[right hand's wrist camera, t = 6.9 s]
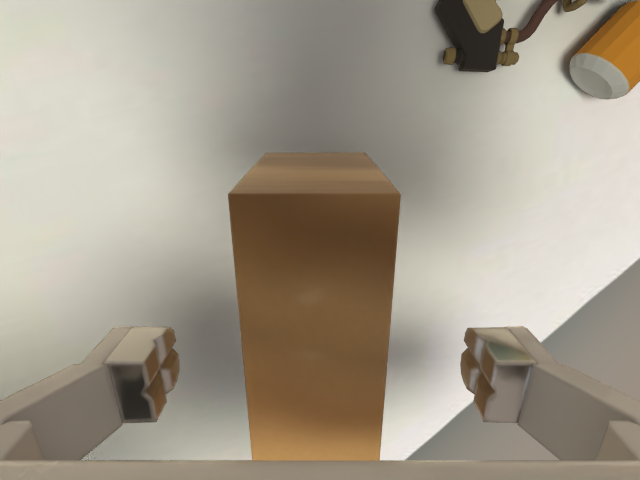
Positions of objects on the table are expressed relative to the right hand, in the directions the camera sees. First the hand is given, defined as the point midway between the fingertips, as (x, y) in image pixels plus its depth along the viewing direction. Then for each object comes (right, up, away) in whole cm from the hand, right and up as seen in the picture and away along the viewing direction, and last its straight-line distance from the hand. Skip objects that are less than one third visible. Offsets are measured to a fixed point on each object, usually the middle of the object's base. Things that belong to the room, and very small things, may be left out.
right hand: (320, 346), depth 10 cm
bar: (0, -4, +12) cm, 13 cm away
